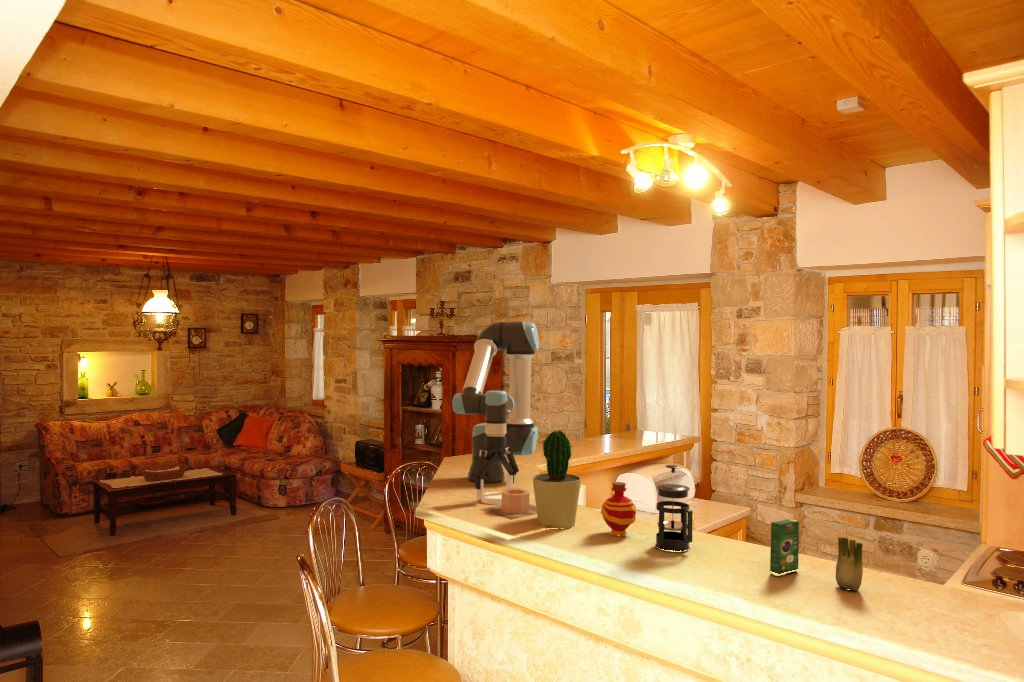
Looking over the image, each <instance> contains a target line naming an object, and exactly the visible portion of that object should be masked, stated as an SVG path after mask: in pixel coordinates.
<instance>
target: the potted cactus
mask: <svg viewBox="0 0 1024 682" xmlns="http://www.w3.org/2000/svg"><path fill="white" fill-rule="evenodd" d="M565 433H566V432H564V431H562V430H559V429H558V430H557V429H556V430H554V431H550V432H549V435H546V437H545V438H544V440H543V441H541V443H542V444H543V445H542V456H540V457H541V458H544V459H545V462H546V465H545V467H546V471H547V472H542V473H537V474H534V475H533V476H532V486H533V491H534V492H533V493H534V499H535V501H534V502H535V506H536V509H537V514H536V516H537V521H538V523H539V524H542V525H547V526H546V527H547V528H558V529H557V530H562V529H561V528H569V527H572V526H573V527H575V525H576V524H575V523H576V520H577V519H576V518H577V517H576V516H577V510H578V504H579V497H580V490H581V484H582V477H581V476H580V475H578V474H574V473H570V472H569V471H570V470H569V468H570V467H571V465H570V464H569V462H570V461H571V460H573V459H572V450H571V448H572V444H571V441H570V439H569V436H567V435H566V434H565ZM568 472H569V473H568ZM573 527H572V528H573ZM547 528H546V529H547ZM569 529H570V528H569Z"/></svg>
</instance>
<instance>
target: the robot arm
mask: <svg viewBox="0 0 1024 682" xmlns="http://www.w3.org/2000/svg"><path fill="white" fill-rule="evenodd" d="M539 347H540V340H539V332H538V329H537V326H536V324H535V323H533V322H531V321H530V322H529V321H497V322H496V321H495V322H492V323H491V324H489V325H487V326H486V327H484V329H483V330H482V331H481V332H480V333H479V334H478V335H477V337H476V339H475V341H474V344H473V349H474V353H473V356H472V359H471V362H470V366H469V368H468V372H467V376H466V377H465V378H466V379H465V382H464V385H463V388H462V390H461V392H459V393H454V395H453V398H452V402H451V403H452V410H453V412H454V413H455V414H459V415H485V416H484V417H485V418H484V420H485V421H484V422H483V423H482V422H481V423H477V424H475V425H474V426H473V427H472V435H471V438H472V439H471V440H472V442H471V443H472V444H471V445H472V446H471V448H472V449H471V457H472V459H471V464H470V466H469V467H470V468H469V470H468V473H467V481H469V480H470V482H472V481H474V482H473V483H474V485H475V486H474V488H475V490H476V499H479V500H481V499H483V494H484V484H486V483H487V484H489V483H490V482H494V483H499V481H500V482H503V481H504V480H505V479H506V480H505V481H506V485H505V486H506V488H505V490H507V489H514V483H515V476H516V475H517V473H519V471H520V469H519V467H518V464H517V461H516V458H515V456H522V457H523V456H532V455H533V454H534V453H535V450H536V448H537V443H538V437H539V428H538V426H535V422H534V420H532V418H531V388H532V387H531V385H532V384H531V383H532V382H531V381H532V380H531V376H532V369H531V368H532V359H533V358H534V357H535V354H536V352H537V351H538V350H539V349H540V348H539ZM498 351H506V353H505V355H506V356H507V357H508V359H509V394H508V393H507V391H505V390H487V391H486V392H485V393H483V392H484V389H485V385H486V381H487V379H488V375H489V371H490V368H491V366H492V361H493V358H494V356H496V354H497V352H498ZM507 415H508V416H507ZM507 417H508V418H507ZM504 469H505V471H506V472H507V473H508V474H507V473H506V475H505V471H504ZM505 477H506V478H505Z"/></svg>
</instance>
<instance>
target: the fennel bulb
mask: <svg viewBox="0 0 1024 682" xmlns="http://www.w3.org/2000/svg"><path fill="white" fill-rule="evenodd" d="M837 543H838V544H837V545H838V556H837V561H836V567H835V580H836V583H837V585H838V587H840V588H841V587H842V588H841V589H843V588H845V589H850V590H858V591H859V590H860V587H861V585H862V579H863V572H864V571H863V570H864V569H863V567H864V566H863V565H864V564H863V545H864V544H863V543H862V542H861V541H857V540H856V539H852V538H851V539H849V538H848V537H844V536H838V537H837ZM845 589H844V590H845Z"/></svg>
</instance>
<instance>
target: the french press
mask: <svg viewBox="0 0 1024 682" xmlns="http://www.w3.org/2000/svg"><path fill="white" fill-rule="evenodd" d="M665 468H667V469H671V471H670V472H671V475H672V483H664V484H663V483H662V484H661V483H660V484H658V485H656V489H657V494H658V496H660V497H661V498H662V497H663V498H665V499H666V498H667V499H672V500H662V501H658V502H657V503H656V505H655V506H656V510H657V511H658V522H657V527H658V532H657V533H656V535H655V537H656V538H655V546H656V547H658V548H660V549H664V550H673V551H674V550H675V551H680V550H681V551H684V550H688V549H691V547H690V543H693V519H694V518H693V509H690V504H688V503H686V502H682V501H676V500H674V499H684V498H688V495H689V491H690V487H689V486H687V485H683V484H674V483H675V482H674V481H675V480H674V479H675V478H674V477H675V472H676V471H675V470H677V469H681V468H682V467H681V466H680V465H677V464H666V465H665ZM665 506H666V507H665ZM668 506H671V508H670V507H668ZM674 507H680V508H674ZM665 513H666V514H671V520H665ZM674 514H679V515H680V521H677V520H674ZM656 547H655V548H656Z"/></svg>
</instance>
